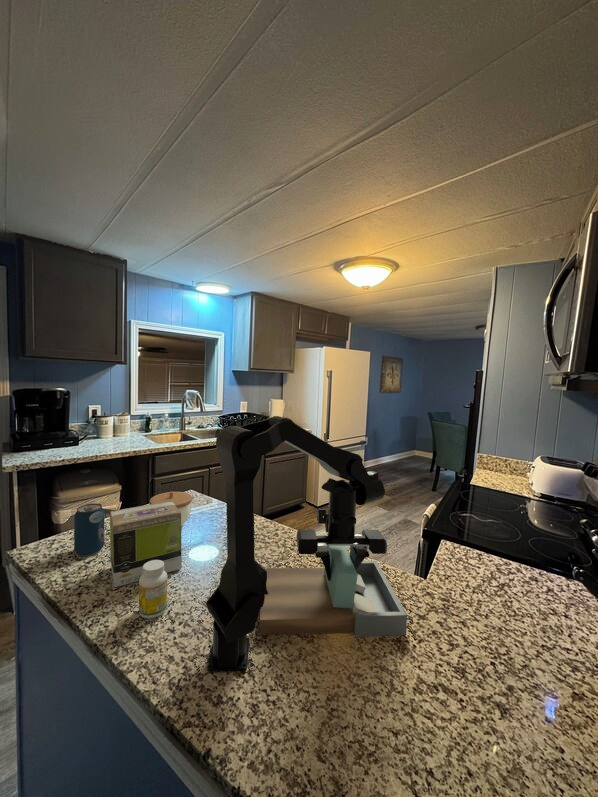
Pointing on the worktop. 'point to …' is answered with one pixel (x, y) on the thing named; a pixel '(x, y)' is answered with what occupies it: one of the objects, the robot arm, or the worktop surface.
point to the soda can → (89, 529)
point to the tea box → (144, 540)
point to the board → (301, 604)
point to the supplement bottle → (153, 590)
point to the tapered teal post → (341, 577)
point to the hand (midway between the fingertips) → (339, 579)
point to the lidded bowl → (176, 502)
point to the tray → (379, 605)
